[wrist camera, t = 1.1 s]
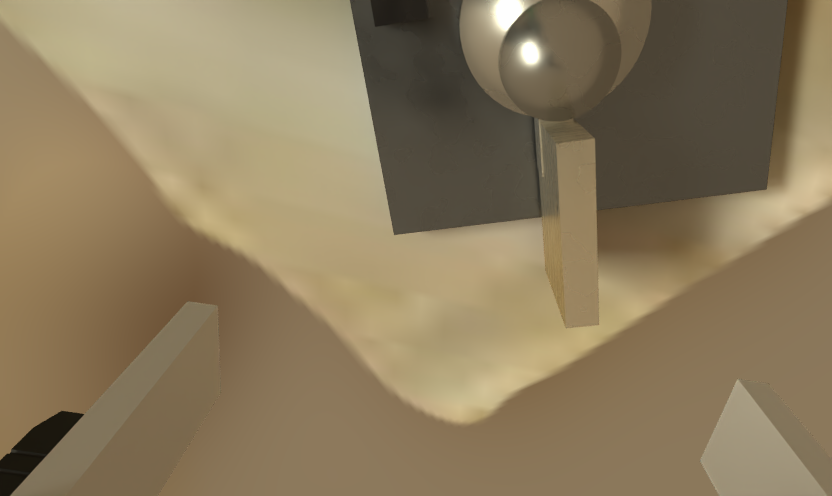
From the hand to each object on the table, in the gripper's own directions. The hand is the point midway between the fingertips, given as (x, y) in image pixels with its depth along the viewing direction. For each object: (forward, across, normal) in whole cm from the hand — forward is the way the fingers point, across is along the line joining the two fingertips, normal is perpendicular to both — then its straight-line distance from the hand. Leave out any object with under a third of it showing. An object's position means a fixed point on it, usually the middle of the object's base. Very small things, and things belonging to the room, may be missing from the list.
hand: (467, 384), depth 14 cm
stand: (+19, +4, +8) cm, 21 cm away
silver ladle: (+16, +4, +4) cm, 17 cm away
